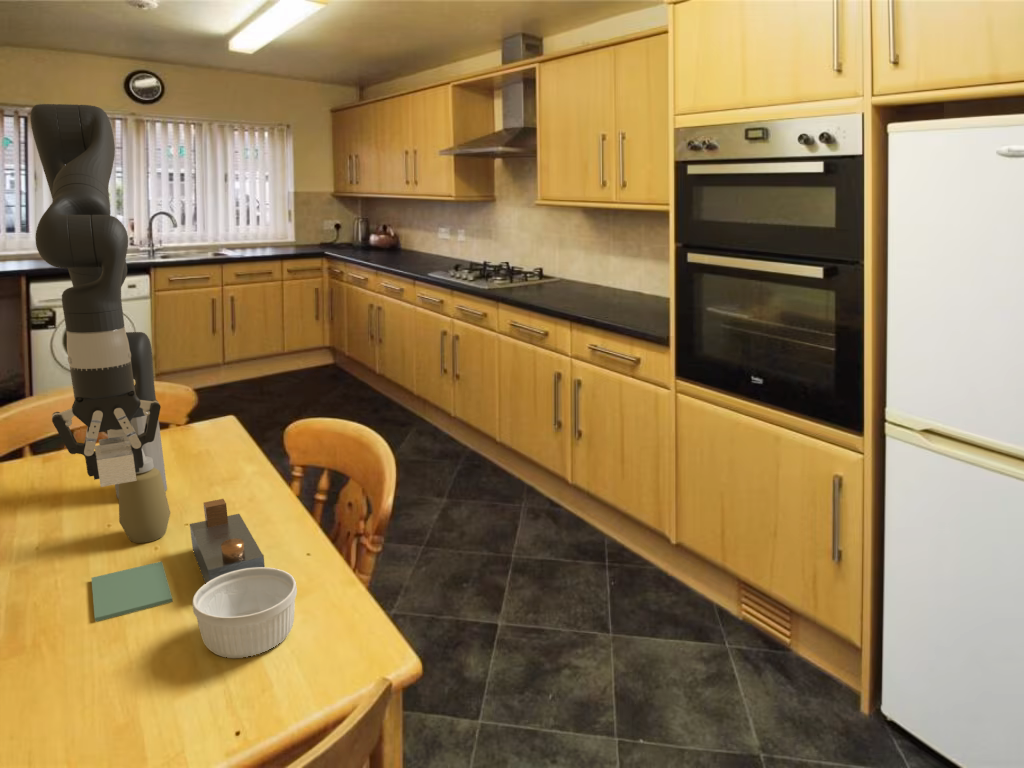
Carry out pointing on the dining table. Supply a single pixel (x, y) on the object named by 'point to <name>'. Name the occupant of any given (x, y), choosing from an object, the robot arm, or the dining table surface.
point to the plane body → (223, 542)
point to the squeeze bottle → (144, 505)
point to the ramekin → (245, 611)
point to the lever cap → (115, 461)
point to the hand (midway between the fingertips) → (116, 473)
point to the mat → (130, 591)
